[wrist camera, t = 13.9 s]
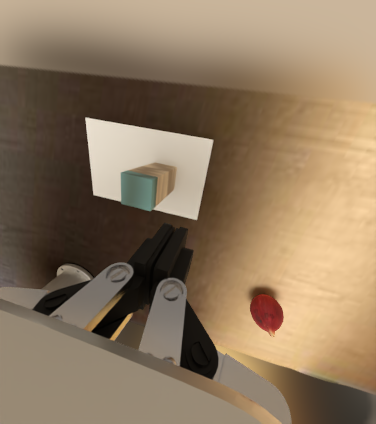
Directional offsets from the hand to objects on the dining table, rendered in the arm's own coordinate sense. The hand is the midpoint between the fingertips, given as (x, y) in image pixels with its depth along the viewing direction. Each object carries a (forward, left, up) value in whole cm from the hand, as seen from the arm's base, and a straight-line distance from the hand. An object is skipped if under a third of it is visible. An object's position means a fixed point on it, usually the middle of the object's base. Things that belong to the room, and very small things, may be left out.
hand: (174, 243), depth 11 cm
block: (+5, +5, -18) cm, 19 cm away
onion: (-28, +2, -19) cm, 33 cm away
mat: (+7, +8, -18) cm, 21 cm away
